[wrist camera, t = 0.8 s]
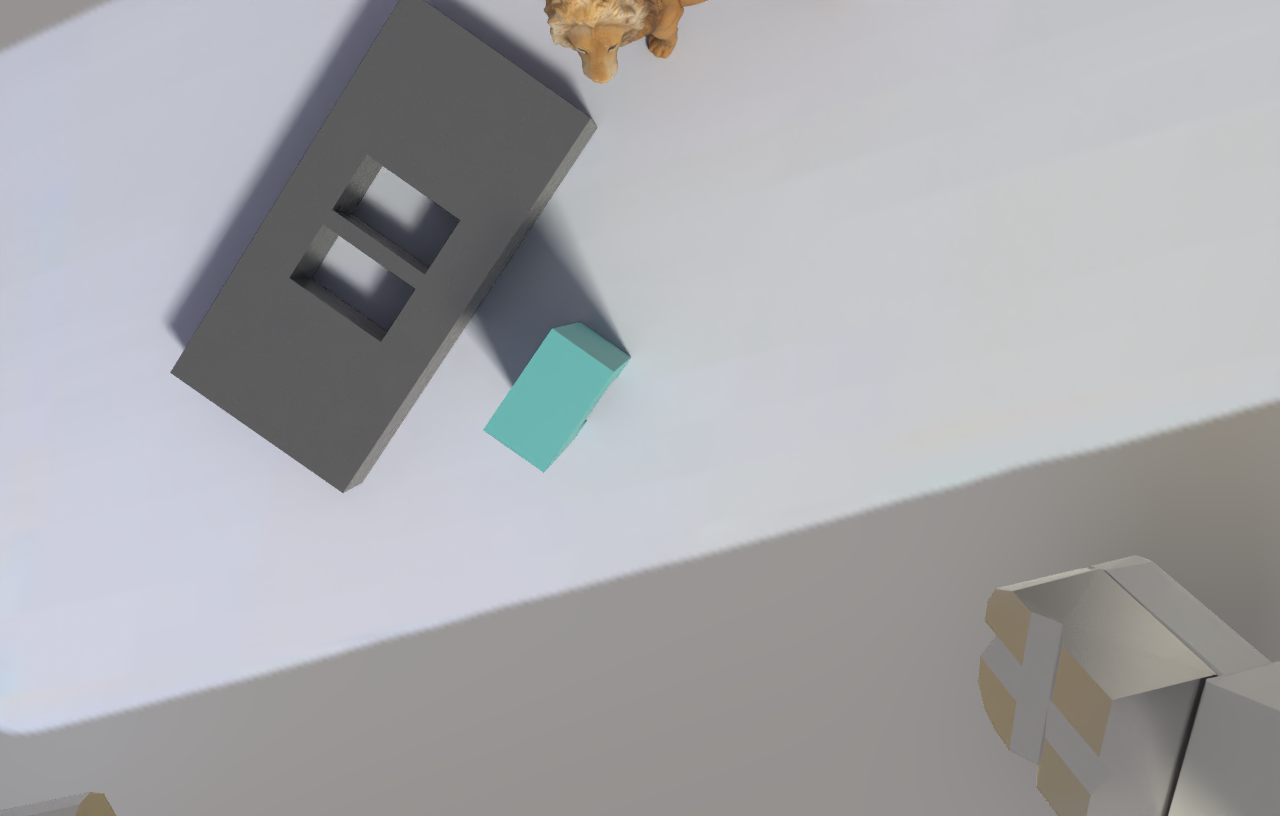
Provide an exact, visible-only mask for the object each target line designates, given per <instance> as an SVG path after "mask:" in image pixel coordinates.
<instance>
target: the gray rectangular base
mask: <svg viewBox="0 0 1280 816" xmlns="http://www.w3.org/2000/svg"><path fill="white" fill-rule="evenodd" d="M596 129H597V126H596V125H595V123H594V122H593V120H592V119H591V118H590V117H589V116H587V115H586V114H584V113H583V112H582V111H580V110H579V109H577V108H576V107H574V106H573V105H572V104H570V103H569V102H567V101H566V100H565V99H563V98H562V97H560V96H559V95H557V94H556V93H555V92H553V91H552V90H550V89H549V88H548V87H546V86H545V85H543V84H542V83H540V82H539V81H538V80H536V79H535V78H533V77H532V76H531V75H529V74H528V73H526V72H525V71H523V70H522V69H521V68H519V67H518V66H516V65H515V64H514V63H512V62H511V61H509V60H508V59H506V58H505V57H504V56H502V55H501V54H499V53H498V52H496V51H495V50H494V49H492V48H491V47H489V46H488V45H487V44H485V43H484V42H482V41H481V40H479V39H478V38H477V37H475V36H474V35H472V34H471V33H470V32H468V31H467V30H465V29H464V28H462V27H461V26H460V25H458V24H457V23H455V22H454V21H453V20H451V19H450V18H448V17H447V16H445V15H444V14H443V13H441V12H440V11H438V10H437V9H436V8H434V7H433V6H431V5H430V4H428V3H427V2H426V1H424V0H399V2H398V4H397V5H396V7H395V9H394V10H393V12H392V13H391V15H390V17H389V18H388V20H387V22H386V23H385V25H384V26H383V28H382V30H381V31H380V33H379V35H378V36H377V38H376V39H375V41H374V43H373V44H372V46H371V47H370V49H369V51H368V52H367V54H366V56H365V57H364V59H363V60H362V62H361V64H360V65H359V67H358V69H357V70H356V72H355V73H354V75H353V77H352V78H351V80H350V82H349V83H348V85H347V86H346V88H345V90H344V91H343V93H342V95H341V96H340V98H339V99H338V101H337V103H336V104H335V106H334V108H333V109H332V111H331V112H330V114H329V116H328V117H327V119H326V121H325V122H324V124H323V125H322V127H321V129H320V130H319V132H318V134H317V135H316V137H315V138H314V140H313V142H312V143H311V145H310V147H309V148H308V150H307V151H306V153H305V155H304V156H303V158H302V160H301V161H300V163H299V164H298V166H297V168H296V169H295V171H294V173H293V174H292V176H291V177H290V179H289V181H288V182H287V184H286V186H285V187H284V189H283V190H282V192H281V194H280V195H279V197H278V199H277V200H276V202H275V203H274V205H273V207H272V208H271V210H270V212H269V213H268V215H267V216H266V218H265V220H264V221H263V223H262V225H261V226H260V228H259V229H258V231H257V233H256V234H255V236H254V238H253V239H252V241H251V242H250V244H249V246H248V247H247V249H246V251H245V252H244V254H243V255H242V257H241V259H240V260H239V262H238V264H237V265H236V267H235V268H234V270H233V272H232V273H231V275H230V277H229V278H228V280H227V281H226V283H225V285H224V286H223V288H222V290H221V291H220V293H219V294H218V296H217V298H216V299H215V301H214V303H213V304H212V306H211V307H210V309H209V311H208V312H207V314H206V316H205V317H204V319H203V320H202V322H201V324H200V325H199V327H198V329H197V330H196V332H195V333H194V335H193V337H192V338H191V340H190V342H189V343H188V345H187V346H186V348H185V350H184V351H183V353H182V354H181V356H180V358H179V359H178V361H177V363H176V364H175V366H174V367H173V369H172V371H171V372H170V373H172V374H173V375H174V376H176V377H177V378H179V379H180V380H182V381H183V382H184V383H186V384H187V385H189V386H190V387H192V388H193V389H194V390H196V391H197V392H199V393H200V394H202V395H203V396H205V397H206V398H207V399H209V400H210V401H212V402H213V403H215V404H216V405H217V406H219V407H220V408H222V409H223V410H225V411H226V412H227V413H229V414H230V415H232V416H233V417H235V418H236V419H237V420H239V421H240V422H242V423H243V424H245V425H246V426H248V427H249V428H250V429H252V430H253V431H255V432H256V433H258V434H259V435H260V436H262V437H263V438H265V439H266V440H268V441H269V442H270V443H272V444H273V445H275V446H276V447H278V448H279V449H281V450H282V451H283V452H285V453H286V454H288V455H289V456H291V457H292V458H293V459H295V460H296V461H298V462H299V463H301V464H302V465H303V466H305V467H306V468H308V469H309V470H311V471H312V472H314V473H315V474H316V475H318V476H319V477H321V478H322V479H324V480H325V481H326V482H328V483H329V484H331V485H332V486H334V487H335V488H336V489H338V490H339V491H341V492H342V493H344V492H346V491H348V490H350V489H352V488H353V487H355V486H357V485H359V484H361V483H362V482H363V480H364V479H365V477H366V476H367V474H368V473H369V471H370V470H371V468H372V467H373V465H374V464H375V462H376V461H377V459H378V458H379V456H380V455H381V453H382V452H383V450H384V449H385V447H386V446H387V444H388V443H389V441H390V440H391V438H392V437H393V435H394V434H395V432H396V430H397V429H398V427H399V426H400V424H401V423H402V421H403V420H404V418H405V417H406V415H407V414H408V412H409V411H410V409H411V408H412V406H413V405H414V403H415V402H416V400H417V399H418V397H419V396H420V394H421V393H422V391H423V390H424V388H425V387H426V385H427V384H428V382H429V381H430V379H431V378H432V376H433V375H434V373H435V372H436V370H437V369H438V367H439V366H440V364H441V363H442V361H443V360H444V358H445V357H446V355H447V354H448V352H449V351H450V349H451V348H452V346H453V345H454V343H455V341H456V340H457V338H458V337H459V335H460V334H461V332H462V331H463V329H464V328H465V326H466V325H467V323H468V322H469V320H470V319H471V317H472V316H473V314H474V313H475V311H476V310H477V308H478V307H479V305H480V304H481V302H482V301H483V299H484V298H485V296H486V295H487V293H488V292H489V290H490V289H491V287H492V286H493V284H494V283H495V281H496V280H497V278H498V277H499V275H500V274H501V272H502V271H503V269H504V268H505V266H506V265H507V263H508V262H509V260H510V259H511V257H512V255H513V254H514V252H515V251H516V249H517V248H518V246H519V245H520V243H521V242H522V240H523V239H524V237H525V236H526V234H527V233H528V231H529V230H530V228H531V227H532V225H533V224H534V222H535V221H536V219H537V218H538V216H539V215H540V213H541V212H542V210H543V209H544V207H545V206H546V204H547V203H548V201H549V200H550V198H551V197H552V195H553V194H554V192H555V191H556V189H557V188H558V186H559V185H560V183H561V182H562V180H563V179H564V177H565V176H566V174H567V173H568V171H569V169H570V168H571V166H572V165H573V163H574V162H575V160H576V159H577V157H578V156H579V154H580V153H581V151H582V150H583V148H584V147H585V145H586V144H587V142H588V141H589V139H590V138H591V136H592V135H593V133H594V132H595V130H596ZM382 166H384V167H385V168H387V169H388V170H390V171H391V172H392V173H394V174H395V175H397V176H398V177H400V178H401V179H402V180H404V181H405V182H407V183H408V184H409V185H411V186H412V187H414V188H415V189H417V190H418V191H419V192H421V193H422V194H424V195H425V196H427V197H428V198H429V199H431V200H432V201H434V202H435V203H437V204H438V205H439V206H441V207H442V208H444V209H445V210H446V211H448V212H449V213H451V214H452V215H454V216H455V217H456V218H458V219H459V220H460V221H459V223H458V225H457V226H456V228H455V229H454V231H453V232H452V234H451V235H450V237H449V238H448V240H447V241H446V243H445V245H444V246H443V248H442V249H441V251H440V252H439V254H438V255H437V257H436V258H435V260H434V261H433V263H432V265H431V266H430V268H428V267H427V266H426V265H424V264H423V263H421V262H420V261H418V260H417V259H416V258H414V257H413V256H411V255H410V254H409V253H407V252H406V251H404V250H403V249H401V248H400V247H399V246H397V245H396V244H394V243H393V242H391V241H390V240H389V239H387V238H386V237H384V236H383V235H381V234H380V233H379V232H377V231H376V230H374V229H373V228H371V227H370V226H369V225H367V224H366V223H364V222H363V221H361V220H360V219H359V218H357V217H356V216H354V215H353V214H352V213H353V212H354V210H355V208H356V207H357V205H358V204H359V202H360V201H361V199H362V197H363V196H364V194H365V193H366V191H367V189H368V188H369V186H370V185H371V183H372V181H373V180H374V178H375V177H376V175H377V174H378V172H379V170H380V169H381V167H382ZM338 235H339V236H341V237H342V238H343V239H345V240H346V241H348V242H349V243H351V244H352V245H353V246H355V247H356V248H358V249H359V250H361V251H362V252H363V253H365V254H366V255H368V256H369V257H371V258H372V259H373V260H375V261H376V262H378V263H379V264H381V265H382V266H383V267H385V268H386V269H388V270H389V271H391V272H392V273H393V274H395V275H396V276H398V277H399V278H401V279H402V280H403V281H405V282H406V283H408V284H409V285H411V286H412V287H413V288H415V291H414V292H413V294H412V295H411V297H410V298H409V300H408V301H407V303H406V305H405V306H404V308H403V309H402V311H401V312H400V314H399V315H398V317H397V318H396V320H395V322H394V323H393V325H392V326H391V328H390V329H389V331H388V332H387V331H385V330H384V329H382V328H381V327H380V326H378V325H377V324H375V323H374V322H372V321H371V320H370V319H368V318H367V317H365V316H364V315H362V314H361V313H360V312H358V311H357V310H355V309H354V308H352V307H351V306H350V305H348V304H347V303H345V302H344V301H342V300H341V299H340V298H338V297H337V296H335V295H334V294H332V293H331V292H330V291H328V290H327V289H325V288H324V287H322V286H321V285H320V284H318V283H317V282H315V281H314V280H312V279H311V278H312V277H313V275H314V274H315V272H316V270H317V269H318V267H319V266H320V264H321V262H322V261H323V259H324V258H325V256H326V254H327V253H328V251H329V250H330V248H331V247H332V245H333V243H334V242H335V240H336V239H337V237H338Z"/></svg>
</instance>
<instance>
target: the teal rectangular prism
mask: <svg viewBox="0 0 1280 816" xmlns="http://www.w3.org/2000/svg"><path fill="white" fill-rule="evenodd" d="M630 358H631V357H630V356H629V355H627V354H626V353H624V352H623V351H622V350H620V349H619V348H617V347H616V346H614V345H613V344H612V343H610V342H609V341H607V340H606V339H604V338H603V337H602V336H600V335H599V334H597V333H596V332H594V331H593V330H592V329H590V328H589V327H587V326H586V325H585V324H583V323H582V322H577V323H573V324H568V325H564V326H560V327H556V328H552V329H551V331H550V332H549V334H548V335H547V337H546V338H545V340H544V341H543V342H542V344H541V345H540V347H539V348H538V350H537V351H536V353H535V354H534V356H533V357H532V359H531V360H530V362H529V363H528V365H527V366H526V368H525V369H524V370H523V372H522V373H521V375H520V376H519V378H518V379H517V381H516V382H515V384H514V385H513V387H512V388H511V390H510V391H509V393H508V394H507V396H506V397H505V398H504V400H503V401H502V403H501V404H500V406H499V407H498V409H497V410H496V412H495V413H494V415H493V416H492V418H491V419H490V421H489V422H488V424H487V425H486V426H485V428H484V429H483V430H484V431H485V432H487V433H488V434H489V435H491V436H492V437H494V438H495V439H497V440H498V441H500V442H501V443H502V444H504V445H505V446H507V447H508V448H510V449H511V450H512V451H514V452H515V453H517V454H518V455H520V456H521V457H522V458H524V459H525V460H527V461H528V462H530V463H531V464H532V465H534V466H535V467H537V468H538V469H540V470H541V471H542V472H545V471H546V470H547V469H548V468H549V466H550V465H551V464H552V463H553V462H554V461H555V460H556V459H557V458H558V457H559V455H560V454H561V453H562V452H563V451H564V450H565V449H566V448H567V447H568V446H569V444H570V443H571V442H572V441H573V440H574V438H575V437H576V436H577V434H578V433H579V431H580V430H581V428H582V427H583V426H584V424H585V423H586V421H587V420H586V418H587V417H588V415H589V414H590V412H591V411H592V410H593V408H594V407H595V405H596V404H597V402H598V401H599V400H600V398H601V397H602V395H603V394H604V392H605V391H606V389H607V388H608V387H609V385H610V384H611V383H612V382H613V381H614V380H615V379H616V378H617V377H618V375H619V374H620V372H621V371H622V370H623V368H624V367H625V365H626V364H627V362H628V361H629V359H630Z"/></svg>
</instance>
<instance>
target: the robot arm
mask: <svg viewBox="0 0 1280 816" xmlns="http://www.w3.org/2000/svg"><path fill="white" fill-rule="evenodd" d="M985 622H986V623H987V624H988V625H989V627H990V628H991V629H992V630H993V632H994V633H995V634H996V636H995V638H994V639H993V640H992V642H991V643H990V644H989V645H988V647H987V648H986V649H985V651H984V652H983V653H982V654H981V656H980V666H979V678H978V683H979V687H980V691H981V696H982V700H983V704H984V708H985V711H986V713H987V715H988V717H989V719H990V721H991V723H992V725H993V728H994V729H995V731H996V732H997V734H998V735H999V736H1000V738H1001V739H1002V741H1003V742H1004V744H1005V745H1006V746H1007V748H1008V749H1009V750H1010V751H1012V752H1013V753H1015V754H1017V755H1019V756H1021V757H1023V758H1025V759H1027V760H1029V761H1031V762H1033V763H1035V764H1037V788H1038V790H1039V791H1040V793H1041V794H1042V795H1043V797H1044V798H1045V799H1046V801H1047V802H1048V803H1049V805H1050V806H1051V807H1052V809H1053V810H1054V811H1055V813H1056V814H1057V815H1058V816H1280V661H1278V662H1274V663H1271V662H1270V661H1269V660H1267V659H1266V658H1265V657H1264V656H1263V655H1262V654H1261V653H1259V652H1258V651H1257V650H1256V649H1255V648H1253V647H1252V646H1251V645H1250V644H1249V643H1248V642H1246V641H1245V640H1244V639H1243V638H1242V637H1241V636H1239V635H1238V634H1237V633H1236V632H1235V631H1233V630H1232V629H1231V628H1230V627H1229V626H1228V625H1226V624H1225V623H1224V622H1223V621H1222V620H1220V619H1219V618H1218V617H1217V616H1216V615H1215V614H1214V613H1212V612H1211V611H1210V610H1209V609H1207V608H1206V607H1205V606H1204V605H1203V604H1202V603H1201V602H1199V601H1198V600H1197V599H1196V598H1194V596H1192V595H1191V594H1190V593H1189V592H1187V591H1186V590H1185V589H1184V588H1183V587H1182V586H1180V585H1179V584H1178V583H1177V582H1176V581H1175V580H1174V579H1172V578H1171V577H1170V576H1169V575H1168V574H1166V573H1165V572H1164V571H1163V570H1162V569H1161V568H1159V567H1158V566H1157V565H1156V564H1155V563H1153V562H1152V561H1150V560H1148V559H1145V558H1142V557H1140V556H1137V555H1135V556H1131V557H1126V558H1122V559H1118V560H1114V561H1110V562H1105V563H1102V564H1097V565H1093V566H1090V567H1088V568H1082V569H1077V570H1073V571H1068V572H1064V573H1060V574H1055V575H1051V576H1047V577H1043V578H1038V579H1034V580H1030V581H1026V582H1021V583H1017V584H1013V585H1009V586H1005V587H1000V588H996V589H995V590H994V592H993V593H992V595H991V596H990V598H989V599H988V602H987V609H986V616H985ZM0 816H116V814H115V812H114V810H113V809H112V807H111V805H110V803H109V802H108V800H107V798H106V796H105V794H103V793H94V792H89V793H84V794H79V795H74V796H69V797H64V798H59V799H54V800H49V801H44V802H39V803H34V804H29V805H24V806H19V807H14V808H9V809H4V810H0Z"/></svg>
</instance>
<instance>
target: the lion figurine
mask: <svg viewBox="0 0 1280 816" xmlns="http://www.w3.org/2000/svg"><path fill="white" fill-rule="evenodd" d="M705 1H707V0H546V7H545V9H544V12H545V13H546V14H547V15H548V17H549V19H548V22H547V23H548V24H549V25H550V26H551V28H550V34H551V36H552V38H553V42H554V43H555V45H557V44H559V45H562V46H563V47H567V48H572V49H573V50H577V52H578V53H579V55H580V57H581V59H582V67H583V72H584V74H585V75H586V76H587V77H588V78H590V79H592V81H594V82H596V83H607V82H609V81H610V80H611V79H612V78H613V77H614V76H615V75H616V73H617V70H618V62H617V50H618V48H619V47H622V46H625V45H627V44H629V43H631V42H632V41H636V40H638V39H640V38H642V37H644V36H647V35H650V34H651V35H650V37H649V41H648V42H649V51H650V52H652V53H653V54H654V55H655V56H656V57H662V58H667V57H668V56H669V55H670V54H671V52H672V50H673V49H674V46H675V44H676V42H677V31H678V28H677V25H678V22H679V20H680V18H681V16H682V15H683V12H684V9H683V7H685V6H691V5H695V4H699V3H702V2H705Z"/></svg>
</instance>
